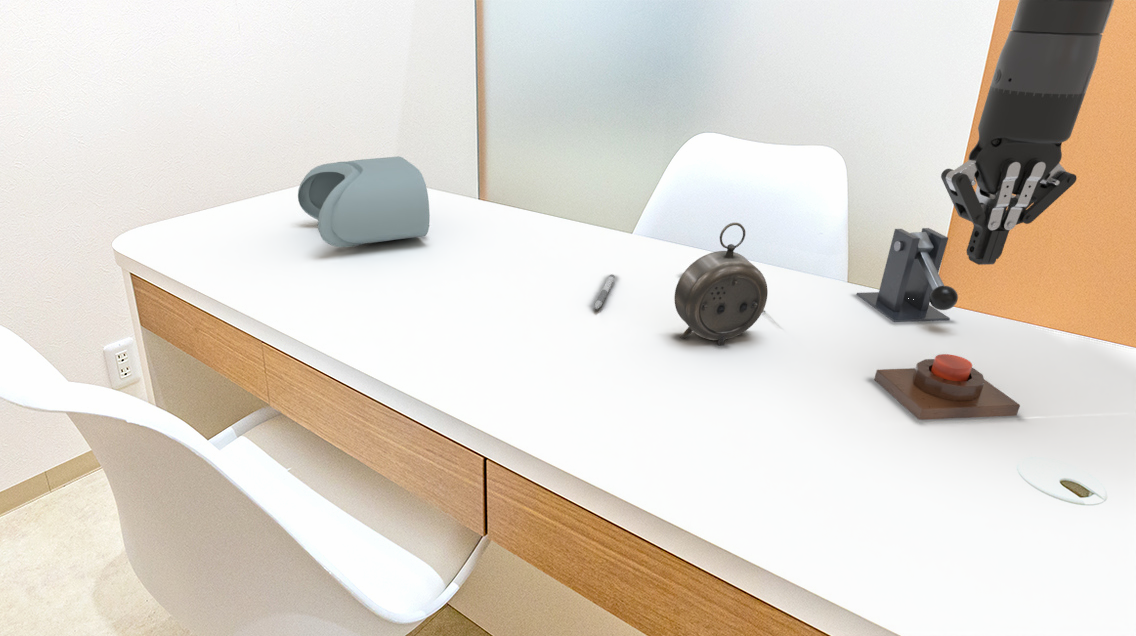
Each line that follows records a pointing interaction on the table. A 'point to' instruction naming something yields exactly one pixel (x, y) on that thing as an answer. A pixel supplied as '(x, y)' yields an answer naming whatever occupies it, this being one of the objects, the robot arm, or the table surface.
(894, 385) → the switch block
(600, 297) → the pen
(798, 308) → the table surface
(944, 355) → the button
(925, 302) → the switch bracket
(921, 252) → the lever
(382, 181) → the grey hollow curved shell
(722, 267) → the alarm clock
